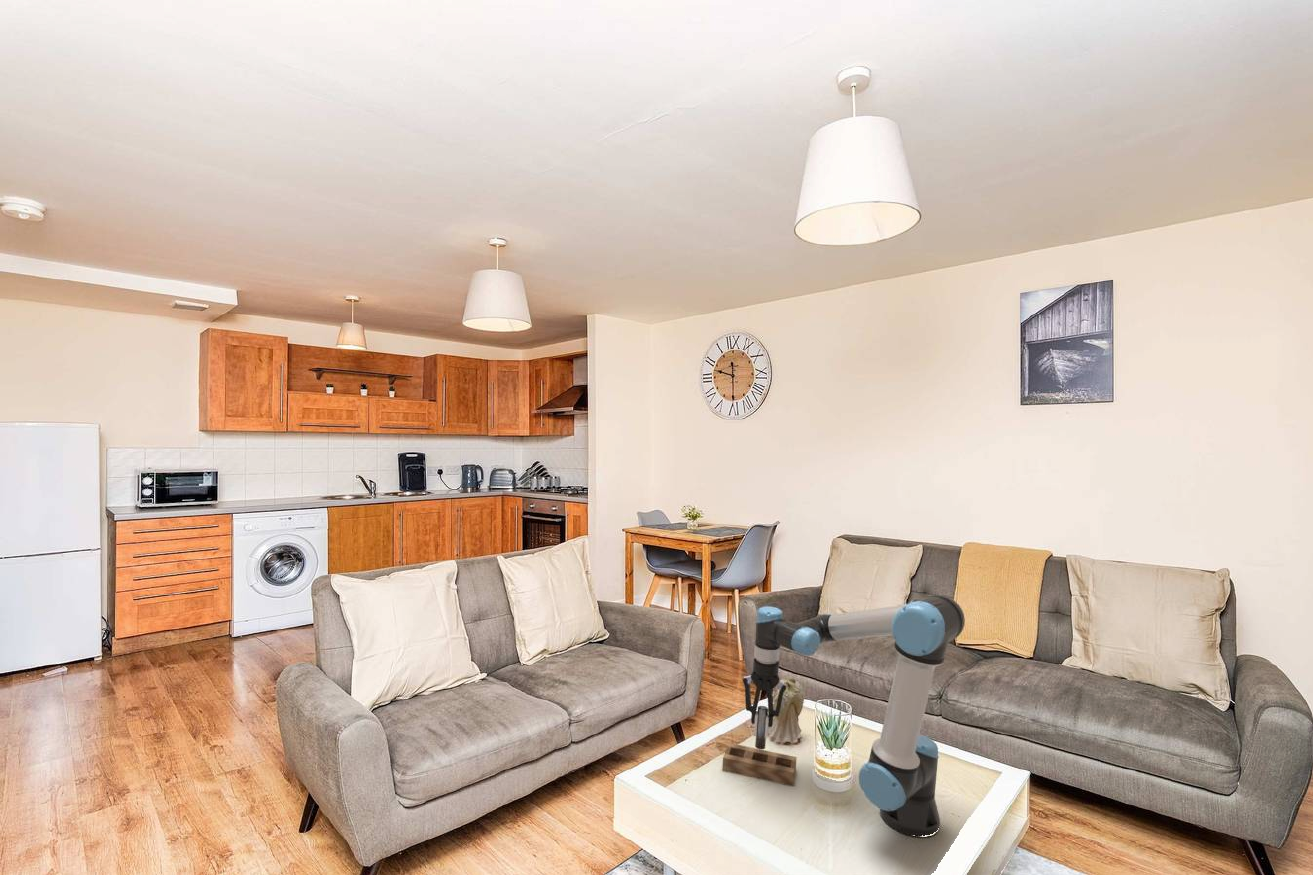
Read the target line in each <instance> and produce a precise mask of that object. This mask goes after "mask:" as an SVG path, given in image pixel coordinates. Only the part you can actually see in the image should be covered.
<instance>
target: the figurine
mask: <svg viewBox="0 0 1313 875" xmlns="http://www.w3.org/2000/svg"><path fill="white" fill-rule="evenodd" d="M780 681H781V682H783V683H787V687H786V690H785V691H784V693H783V698H782V703H781V708H780V713H779V716H778V717H776V716H774V717H773V725H772V727H769V731H768V737H769V739H770V741H771V742H773V743H775V744H777V745H779V746H785V747H792V746H793V747H794V746H798V745H801V744H802V742H801V739H802V738H803V737H802V735H801V732H802V729H801V727H800V725H799V719H800V718H799V717H800V715H801V713H802V711H803V708H804V703H805V702H804V701H805V698H804V689H803V687H802V686H801V684H800V683H799V682H798V680H796V679H795V678H791V679H788V680H787V679H784V678H782V679H780ZM777 687H779V685H778V684H777ZM779 691H780V690H779V688H778V689H777V691H776V692H775V693H774V695H773V709H774V710H776V706H777V700H778V695H779ZM787 742H788V743H787Z"/></svg>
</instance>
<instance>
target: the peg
mask: <svg viewBox="0 0 1313 875" xmlns="http://www.w3.org/2000/svg"><path fill="white" fill-rule="evenodd" d="M757 711H758V713H757V714H758V721H757V735H756V736H755V742H754V743H755V744H754V748H756V749H760V750H765V749H766V740H767V739H766V738H765V725H766V716H767V715H768V713H769V712H768V706H765V705H759V706H757Z"/></svg>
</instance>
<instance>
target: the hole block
mask: <svg viewBox="0 0 1313 875" xmlns="http://www.w3.org/2000/svg"><path fill="white" fill-rule="evenodd" d="M721 770H722V771H724V772H728V773H733V774H737V775H743V776H746V777H751V778H756V779H760V780H763V781H769V782H773V783H778V784H782V785H786V786H791V787H793V786H794V782H795V777H796V771H797V756H795V755H794V756H793V755H788V754H784V753H778V752H774V751H771V750H770V751H769V750H765V749H758V748H756V747H750V746H746V745H741V744H738V743H737V744H735V743H730V742H728V744H727V747H726V749H725V752H724V754H723V757H722V768H721Z"/></svg>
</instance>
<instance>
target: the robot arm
mask: <svg viewBox="0 0 1313 875" xmlns="http://www.w3.org/2000/svg"><path fill="white" fill-rule="evenodd" d="M965 618H966V617H965V614H964V611H963V609H962V607H961V606H960V604H959V603H957V601H955V600H954V599H953V598H951V597H949V596H946V595H943V594H932V595H928V596H926V597H924V598H919V599H913V600H911V601H910V602H909V603H906V604H902V605H895V606H889V607H888V606H887V607H878V608H873V609H871V608H870V609H865V610H857V611H849V612H841V613H833V614H831V613H824V614H819V615H817V616H815V617H812V618H809V619H806V620H804V621H800V622H798V623H795V622H792V621H789V620H788V619H785V618H783V611H782V610H781V609H780V608H778V607H775V606H762V607H759V608H758V610H757V615H756V621H755V639H754V640H755V641H754V649H753V650H754V651H753V652H754V653H753V662H752V666H753V667H752V672H751V674H750V675H746V674H745V675H744V676H743V678H742V683H743V685H744V693H745V694H744V695H745V696H744V697H745V698H744V700H745V710H746V711H747V712H750V713H751V717H750V718H751V719H750V722H751V724H753V725H754V726H753V727H754V728H753V729H754V730H753V737H756V735H757V721H758V714H757V713H758V707H759V706H758V704H759V701H760V695H761V691H766V694H767V695H766V696H767V708H768V715H767V716H766V725H765V738H766V740H767V739H768V737H769V734H768V731H769V727H772V725H773V719H774V716H776V717H778V716H779V713H780V708H781V703H782V698H783V693H784V691H785V690H786V687H787V683H783V682H781V681H780V680H781V679H780V677H779V669H780V668H779V667H780V661H779V660H780V652H781V647H782V648H785V649H788V650H789V651H793V652H794V653H796V654H800V655H803V656H807V657H811V656H814V655H815V654H816V652H818V650H819V648H820V644H822V643H827V642H835V641H844V640H855V639H866V638H877V637H887V636H889V637H890V636H892V637H893V638H894V646H893V648H894V650H895V652H896V654H897V655H898V656H897V657H898V658H897V661H896V662H897V663H896V666H895V671H894V675H893V680H892V684H891V689H890V693H889V698H888V702H887V708H886V711H885V715H884V720H883V725H882V730H881V733H880V737H879V738H877V739H875V740H874V741H873V743H872V746H871V749H870V754H869V758H868V761H867V762H866V763H864V764H863V766H862V767H861V768H860V770H859V772H858V781H859V782H858V784H859V786H860V789H861V791H862V792H863V793H864V796H865V798H866V799H867V800H868V801H869V802H870V803H871V804H873V806H875V807H877V808H878V809H879V815H880V818H881V819H882V820H883V821H884V823H885V824H886V825H888V826H889V827H890V828H891V829H893V830H894V831H897V832H899V833H901V834H904V835H906V834H908V835H907V836H909V835H915V836H922V835H923V836H925V835H930V834H933V833H934V832H936V831H937V830H938V828H939V829H940V827H939V826H940V825H941V819H940V814H939V810H938V806H937V803H936V802H937V801H936V798H935V797H936V785H937V773H938V763H939V762H938V761H939V748H938V744H937V743H936V742H935V741H934V740H933V739H931V738H930V737H928V736H926V735H923V734H921V730H922V725H923V722H924V716H925V712H926V708H927V703H928V701H929V700H928V699H929V696H930V691H931V688H932V682H933V678H934V673H935V669H936V667H939V666H942V665H943V664H944V662H945V657H946V653H947V648H948V644H949V643H950V642H951V641H954V640H955V639H957V638H958V637H959V636H960V635H961V633H962V632H963V631H964V628H965V621H966V619H965ZM752 682H753V683H754V685H755V688H756V689H755V694H754V698H753V704H752V700H751V698H752V697H751V692H752V691H751V683H752ZM778 685H779V687H778ZM775 687H778V689H779V690H780V691H779V695H778V700H777V706H776V710H774V709H773V704H774V703H773V690H774V689H775Z"/></svg>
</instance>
